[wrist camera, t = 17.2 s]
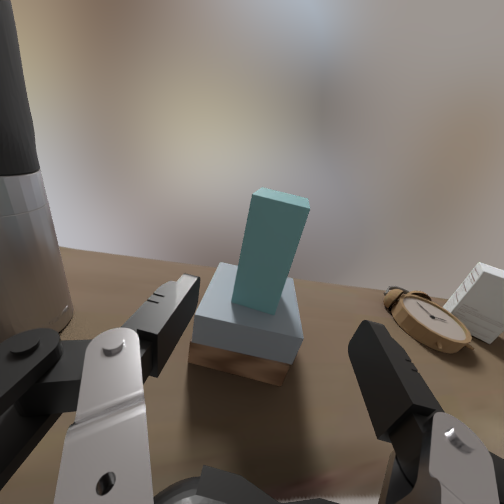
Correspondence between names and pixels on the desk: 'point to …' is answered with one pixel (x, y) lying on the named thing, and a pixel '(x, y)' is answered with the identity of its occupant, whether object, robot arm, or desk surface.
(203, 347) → the block
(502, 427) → the desk surface
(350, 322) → the desk surface
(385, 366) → the robot arm
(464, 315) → the supplement box
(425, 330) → the alarm clock
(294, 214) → the teal block
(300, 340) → the tower top
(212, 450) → the desk surface
